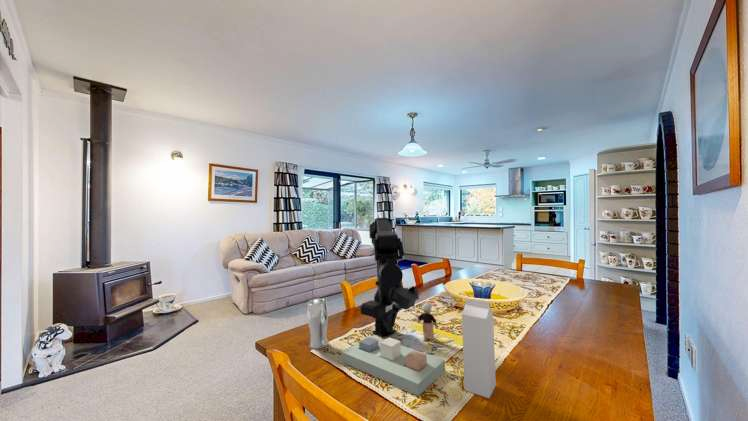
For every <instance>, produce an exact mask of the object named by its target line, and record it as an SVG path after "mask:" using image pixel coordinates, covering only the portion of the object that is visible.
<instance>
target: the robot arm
mask: <svg viewBox="0 0 748 421" xmlns="http://www.w3.org/2000/svg"><path fill="white" fill-rule="evenodd" d="M368 233H369V234H368V235H369V239H370V240H371V244H372V246H373V253H374V260H375V261H376V281H375V286H377V290H376V291H375V293H374V295H373V299H372V300H368V301H365V302H363V303H362V304H361V305H360V314H361V315H364V316H367V317H371V318H372V319H375V321H374V330H372V334H375V335H377V336H381V337H383V338H388V337H390V336H391V335H393V334H394V333H396V332H397V329H394V327H395V323H396V319H397V316H398V313H399V312H400V311H401V310H402V309H404V310H409V309H410V308H414V307H415V304H416V302H417V300H419V299H420V298H419V289H418V287H416V286H411V287H404V286H403V283H402V280H403V276H404V275H403V270H402V269H401V268H400V266H399V265H398V261H399V260H404V259H403V258H404V256H405V251H404V246H403V242H402V240H401V238H400V237H399V236H398V234H397V233H396V232H395V231H393V224H392V223H391V222H390V219H389V217H376V218H374V221H373V222H372V223H371V224H369V232H368Z"/></svg>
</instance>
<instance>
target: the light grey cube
mask: <svg viewBox="0 0 748 421" xmlns="http://www.w3.org/2000/svg"><path fill="white" fill-rule="evenodd" d="M383 340H384V341H382V342H381V343H380V349H381V358H384V359H386V360H389V361H391V362H393V361H395V360H396V359H398V358H399V357H401V346H402V344H401V340H398V339H395V338H392V337H386V338H385V339H383Z"/></svg>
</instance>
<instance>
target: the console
mask: <svg viewBox="0 0 748 421" xmlns="http://www.w3.org/2000/svg"><path fill="white" fill-rule="evenodd" d="M369 337H370V338H373V339H376V340H378V345H379V348H377V349H376V350H374V351H372V352H371V353H368V352H366V351H363V350H360V349H359V342H357V343H355V344H354V345H351V346H349V347H348V348H346V349H344V350H342V351H341V352H340V355H341V357H340V358H341V362H342V363H343V362H344V363H343V364H346V365H348V366H350V367H353V368H355V369H357V370H360V371H361V372H364V373H365V374H368V375H371V376H373V377H374V378H377V379H378V380H381V381H384V382H386V383H388V384H390V385H392V386H394V387H397V388H399V389H402V390H403V391H406V392H408V393H410V394H412V395H414V396H417V397H419V396H420V395H422V393H423V392H425V391H426V390H427V389H428V388H429V387H430V386H431V385H432V384H433V383H434V382H435V381H436V380H438V379H439V377H440V376H442V374H444V373H445V372H446V360H445V359H443V358H439V357H436V356H434V355H431V354H429V353H424V352H423V351H419V350H417V349H413V348H410V347H407V346H404V345H401V357H399V358H398V359H396V360H395V361H393V362H391V361H389V360H386V359H384V358H381V349H380V343H381V342H382V341H384V340H385V339H383V338H380V337H377V336H373V335H370V336H369ZM413 350H414V351H417V352H420V353H423V354H426V357H427V366H426V367H425V368H423V369H422V370H421V371H420V372H417V371H415V370H412V369H410V368H407V367H405V356H406V355H407V354H409V353H410V352H412V351H413Z"/></svg>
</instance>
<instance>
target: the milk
mask: <svg viewBox="0 0 748 421" xmlns="http://www.w3.org/2000/svg"><path fill="white" fill-rule="evenodd" d="M464 302H465V305H464V307H463V310H462V313H461V332H462V356H463V359H462V360H463V385H464V388H463V389H464V391H467V392H468V393H472V394H474V395H478V396H481V397H483V398H487V399H490V398H491V396H492V394H493V393H494V391H495V388H496V386H497V385H496V384H497V383H496V360H495V359H496V358H495V357H496V355H495V354H496V353H495V328H494V327H495V326H494V310H492V308H490V306H491V305H490V302H489V301H486V300H480V299H474V298H473V299H472V298H465V301H464Z"/></svg>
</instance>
